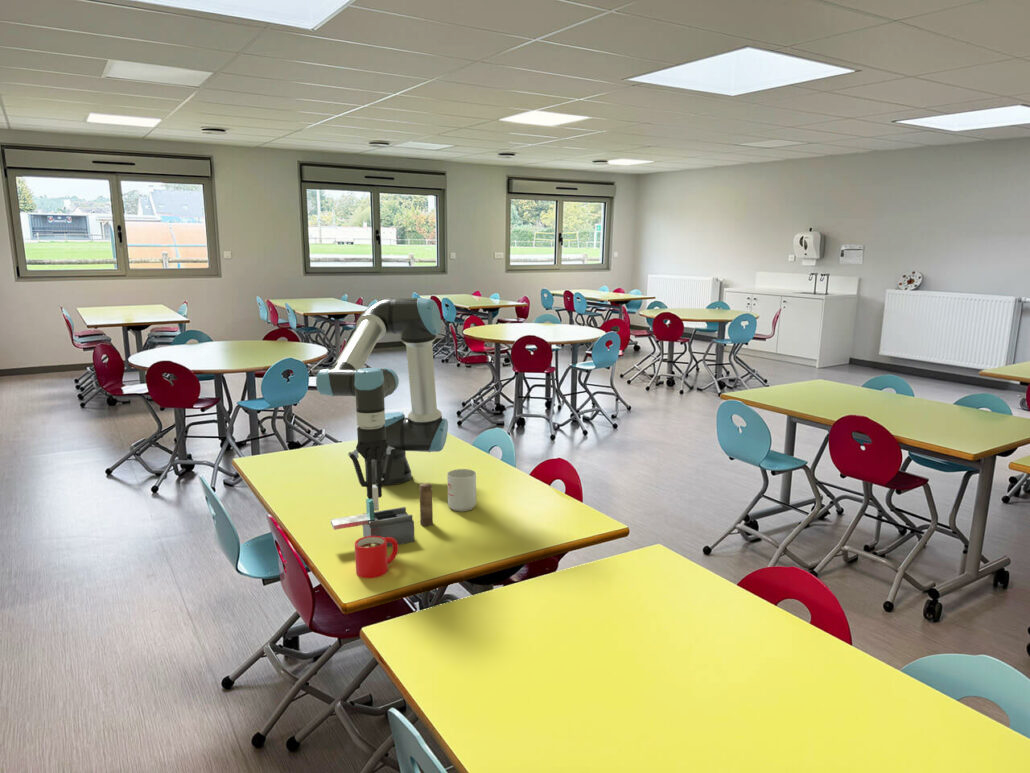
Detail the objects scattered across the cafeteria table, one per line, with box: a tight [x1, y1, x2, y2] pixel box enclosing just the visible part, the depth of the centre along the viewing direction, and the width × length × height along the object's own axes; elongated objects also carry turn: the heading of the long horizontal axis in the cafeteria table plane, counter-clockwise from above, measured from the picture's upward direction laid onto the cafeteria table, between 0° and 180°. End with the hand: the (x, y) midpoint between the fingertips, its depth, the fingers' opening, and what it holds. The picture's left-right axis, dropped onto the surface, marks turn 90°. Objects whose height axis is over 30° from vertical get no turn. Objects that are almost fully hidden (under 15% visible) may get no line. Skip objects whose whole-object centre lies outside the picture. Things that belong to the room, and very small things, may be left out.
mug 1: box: [354, 536, 399, 579], centre depth 177 cm, size 8×12×8 cm, turn 138°
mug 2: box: [446, 468, 477, 512], centre depth 220 cm, size 12×9×11 cm
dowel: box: [419, 482, 434, 527], centre depth 205 cm, size 4×4×12 cm
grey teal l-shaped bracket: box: [330, 498, 375, 531], centre depth 190 cm, size 5×11×6 cm, turn 115°
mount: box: [362, 506, 415, 548], centre depth 195 cm, size 10×12×7 cm
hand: (375, 508), depth 193 cm, fingers closed
